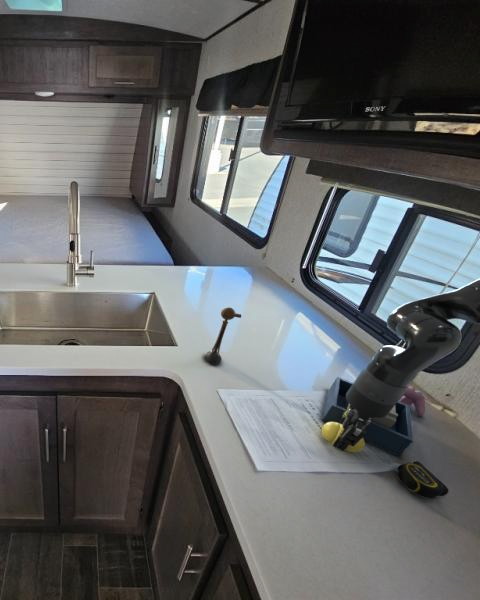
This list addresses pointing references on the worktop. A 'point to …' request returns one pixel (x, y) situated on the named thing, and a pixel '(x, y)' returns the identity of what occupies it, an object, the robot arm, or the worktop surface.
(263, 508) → the worktop surface
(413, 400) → the video game controller
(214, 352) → the wooden tabletop sculpture
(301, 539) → the worktop surface
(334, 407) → the crate
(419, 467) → the tape measure
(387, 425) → the block
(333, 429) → the yellow capsule
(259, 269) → the worktop surface
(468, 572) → the worktop surface
